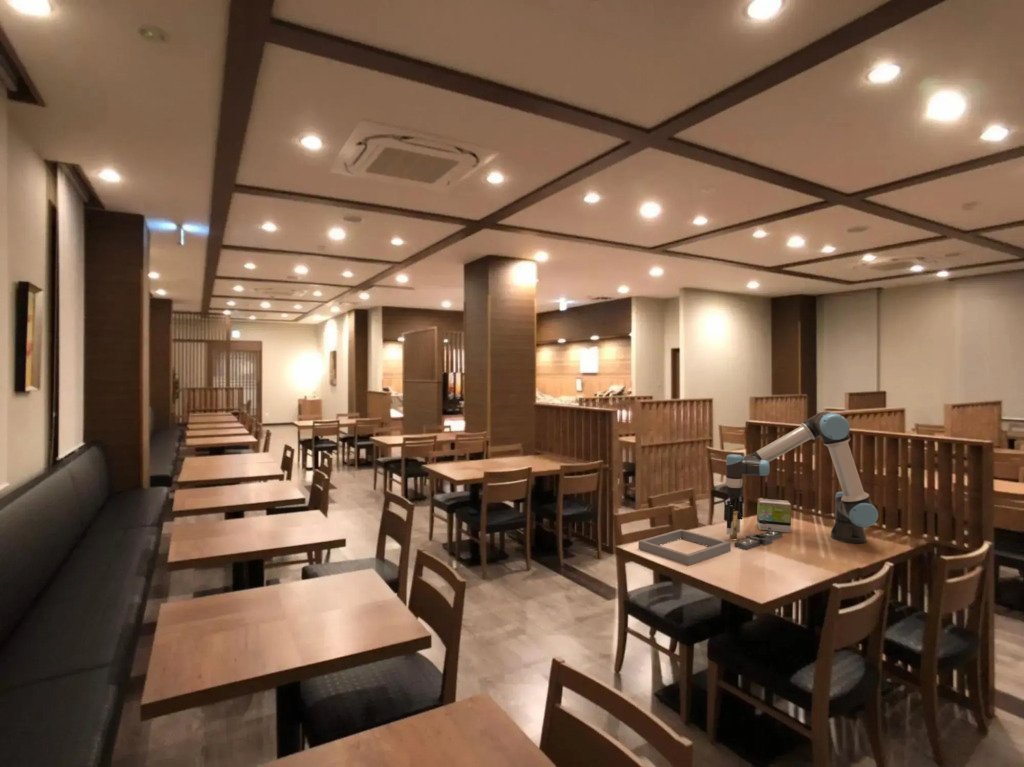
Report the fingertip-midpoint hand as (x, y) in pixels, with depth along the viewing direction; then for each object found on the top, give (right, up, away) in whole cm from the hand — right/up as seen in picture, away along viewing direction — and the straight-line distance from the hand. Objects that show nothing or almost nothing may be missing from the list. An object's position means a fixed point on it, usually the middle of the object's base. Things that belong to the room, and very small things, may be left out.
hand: (733, 533), depth 276 cm
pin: (0, -3, 0) cm, 3 cm away
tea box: (+28, -3, +18) cm, 33 cm away
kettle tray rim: (-29, -3, -17) cm, 34 cm away
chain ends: (+11, -3, -4) cm, 12 cm away
